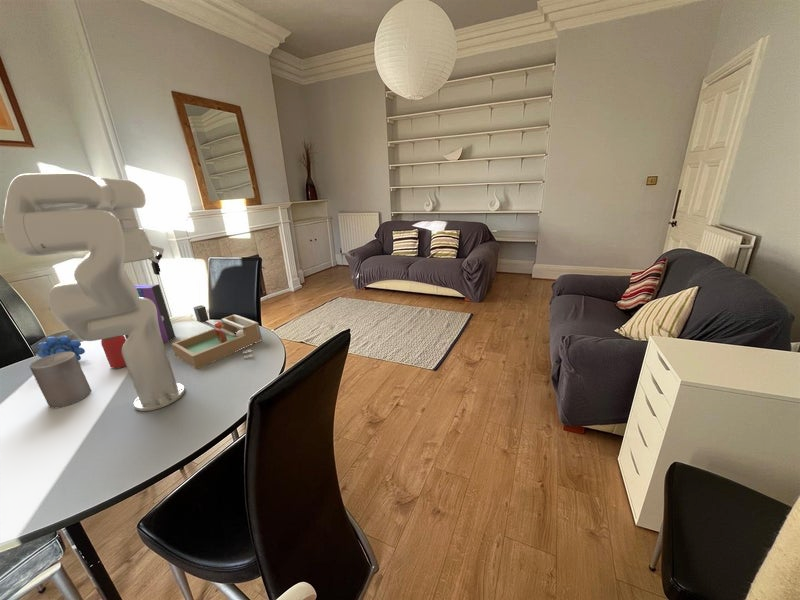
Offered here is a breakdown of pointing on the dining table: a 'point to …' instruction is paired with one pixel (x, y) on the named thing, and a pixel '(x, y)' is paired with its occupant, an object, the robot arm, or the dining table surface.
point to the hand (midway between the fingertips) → (140, 277)
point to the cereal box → (163, 317)
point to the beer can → (114, 351)
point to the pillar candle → (60, 379)
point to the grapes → (60, 346)
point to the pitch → (217, 342)
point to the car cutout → (247, 352)
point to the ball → (239, 333)
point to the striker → (202, 317)
